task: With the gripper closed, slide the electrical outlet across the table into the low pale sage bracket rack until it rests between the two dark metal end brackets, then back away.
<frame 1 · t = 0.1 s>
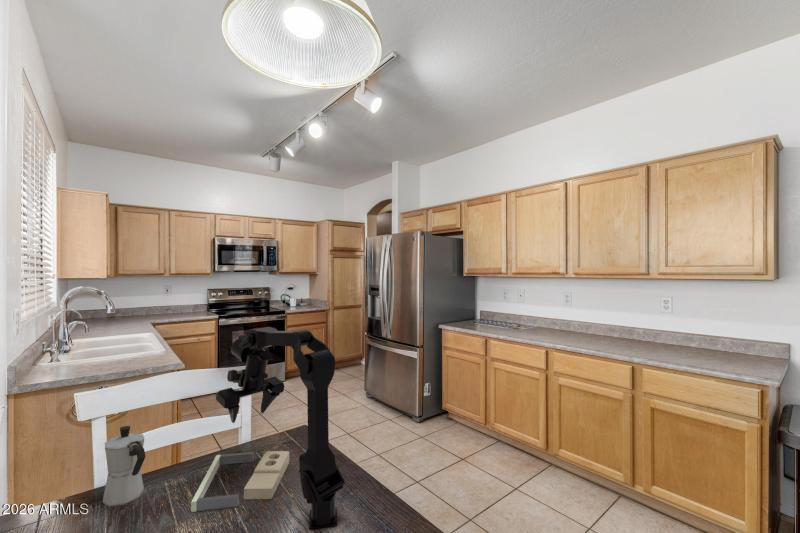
hand: (247, 417, 109), 15 cm above the table, tool pointing down, fingers open, 9 cm apart
electrical outlet: (268, 481, 104), on the table
coffee maker: (125, 498, 95), on the table
bracket rack: (227, 482, 102), on the table
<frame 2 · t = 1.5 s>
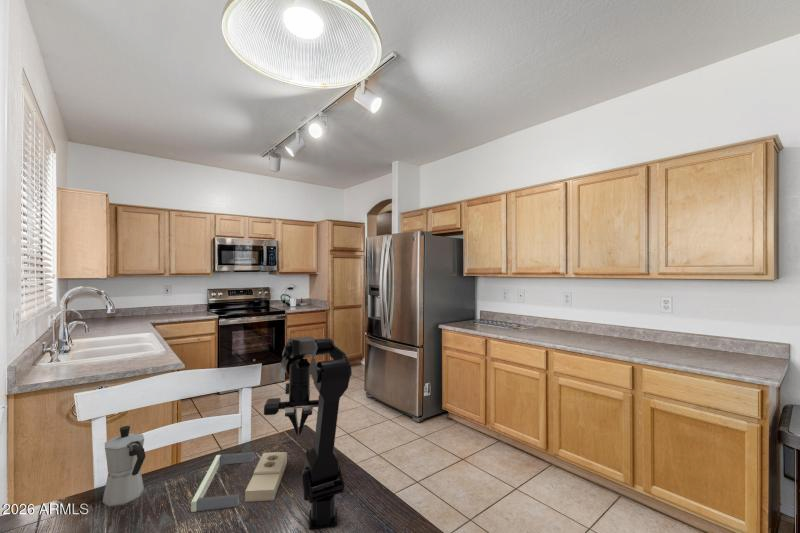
hand: (298, 434, 106), 12 cm above the table, tool pointing down, fingers closed
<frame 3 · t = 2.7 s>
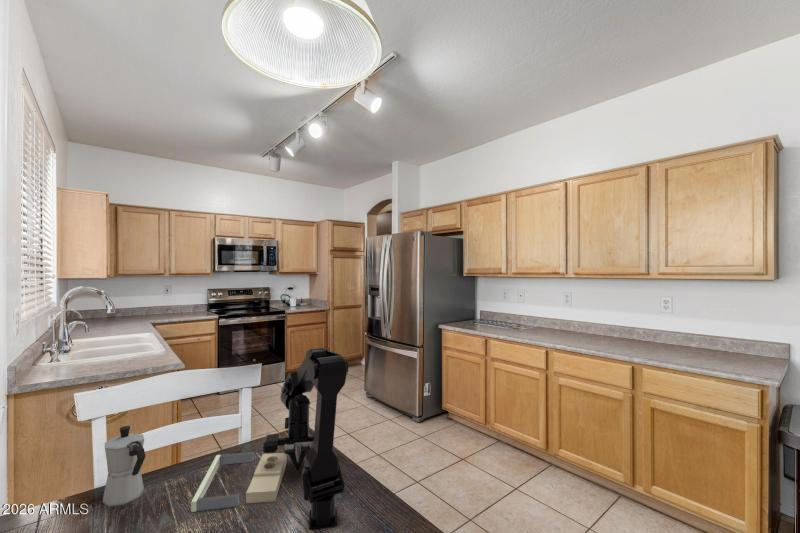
hand: (297, 470, 106), 2 cm above the table, tool pointing down, fingers closed
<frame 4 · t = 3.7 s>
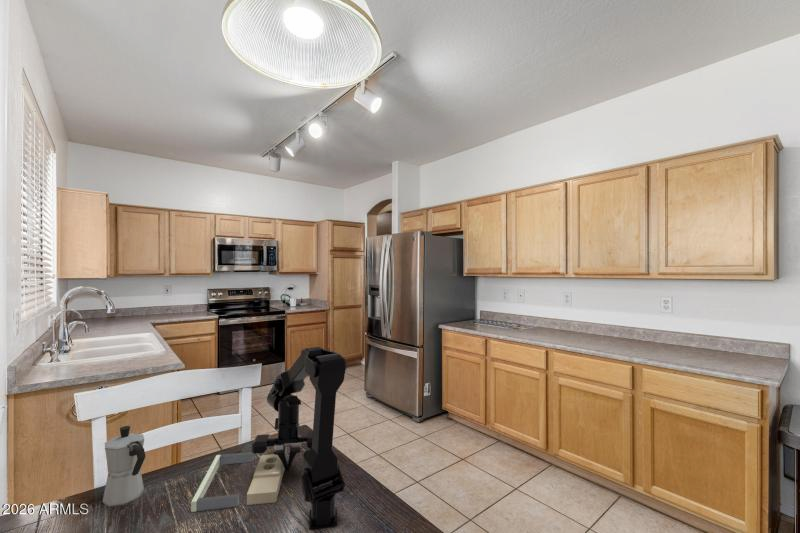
hand: (287, 471, 106), 2 cm above the table, tool pointing down, fingers closed
electrical outlet: (267, 485, 103), on the table, touching gripper
everything else where it was.
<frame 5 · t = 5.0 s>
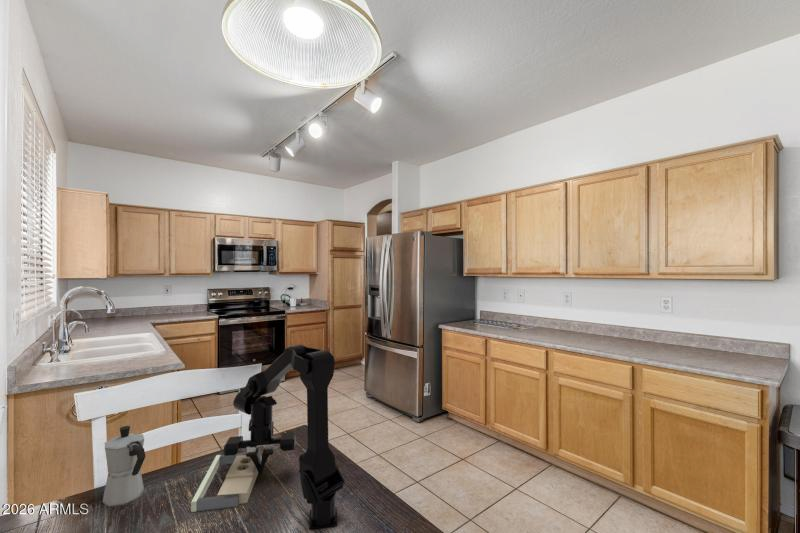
hand: (260, 473, 104), 2 cm above the table, tool pointing down, fingers closed
electrical outlet: (241, 486, 102), on the table, touching gripper
everything else where it was.
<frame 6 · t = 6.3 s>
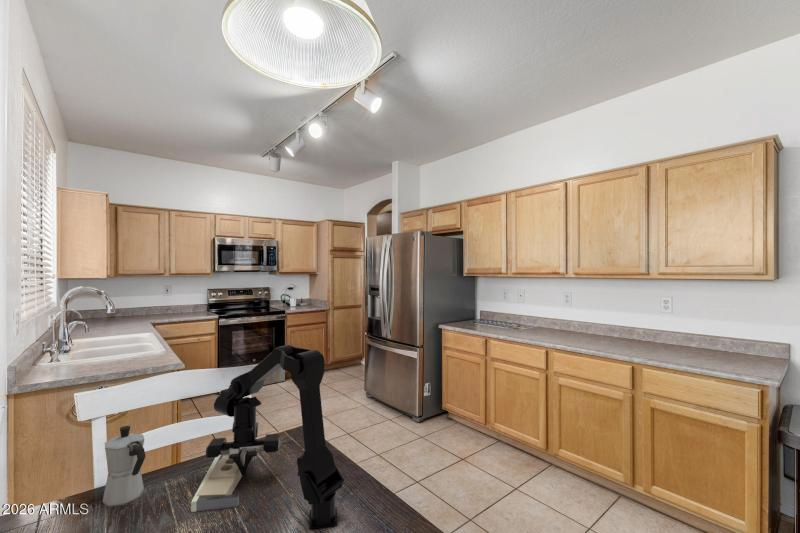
hand: (244, 475, 103), 2 cm above the table, tool pointing down, fingers closed
electrical outlet: (224, 486, 102), on the table, touching gripper
everything else where it was.
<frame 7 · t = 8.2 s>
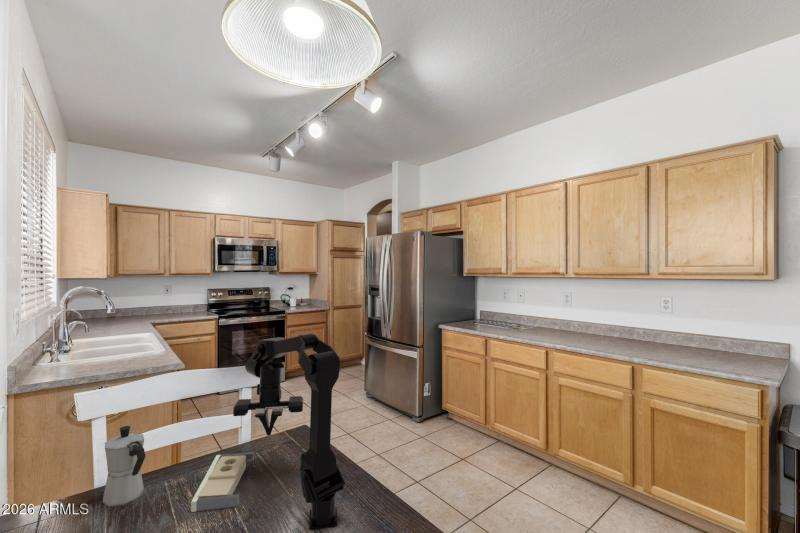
hand: (268, 435, 107), 11 cm above the table, tool pointing down, fingers closed
electrical outlet: (223, 487, 101), on the table
everything else where it was.
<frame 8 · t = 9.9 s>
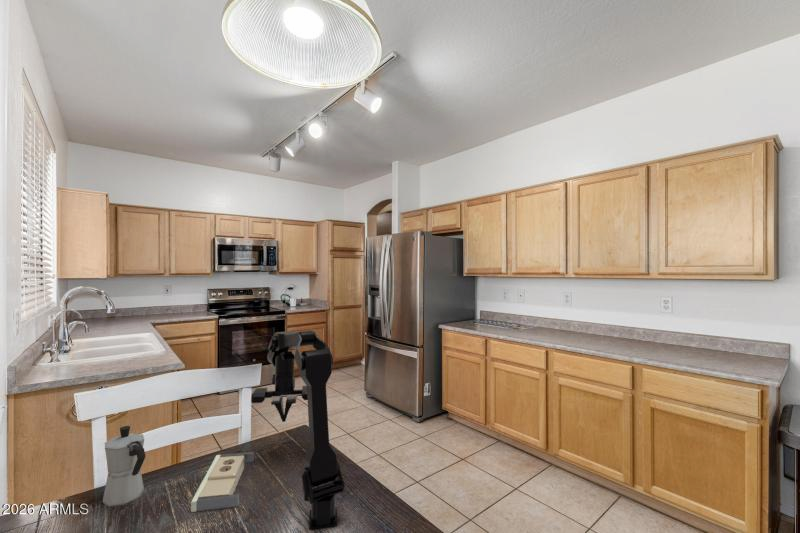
hand: (283, 421, 115), 12 cm above the table, tool pointing down, fingers closed
electrical outlet: (223, 487, 101), on the table, touching bracket rack
everything else where it was.
at the end: electrical outlet 1.9 cm off-centre on the bracket rack, point -0.7 cm above the bracket rack's base; electrical outlet tilted 0°; electrical outlet moved 11.8 cm from its start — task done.
